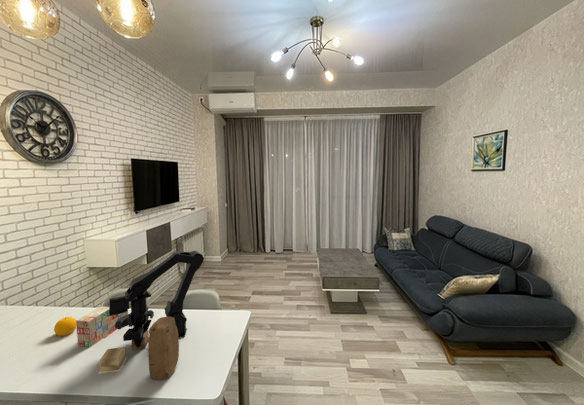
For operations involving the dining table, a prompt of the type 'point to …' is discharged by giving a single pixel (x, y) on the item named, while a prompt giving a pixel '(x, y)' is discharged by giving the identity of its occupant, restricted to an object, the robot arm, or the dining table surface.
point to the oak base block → (112, 359)
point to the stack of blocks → (96, 326)
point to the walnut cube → (144, 341)
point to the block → (163, 348)
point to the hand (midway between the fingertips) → (140, 343)
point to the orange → (65, 326)
